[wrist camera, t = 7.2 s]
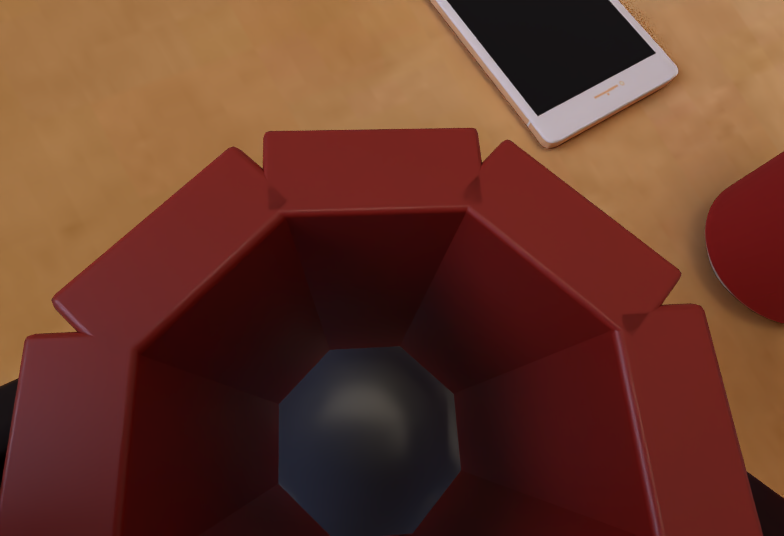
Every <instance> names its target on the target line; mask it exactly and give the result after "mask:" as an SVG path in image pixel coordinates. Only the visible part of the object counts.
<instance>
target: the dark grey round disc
mask: <svg viewBox="0 0 784 536" xmlns="http://www.w3.org/2000/svg"><path fill="white" fill-rule="evenodd" d="M460 471H461V463H460V453H459V443H458V433H457V423H456V412H455V402H454V394H453V393H452V392H451V391H450V390H449V389H448V388H446V387H445V386H444V385H443V384H442V383H441V382H440V381H439V380H437V379H436V378H435V377H434V376H433V375H432V374H431V373H430V372H428V371H427V370H426V369H425V368H424V367H423V366H422V365H421V364H419V363H418V362H417V361H416V360H415V359H414V358H413V357H412V356H410V355H409V354H408V353H407V352H406V351H405V350H404V349H403V348H402V347H400V346H393V347H373V348H354V349H335V350H329V351H328V352H327V353H326V354H325V355H324V356H323V357H322V359H321V360H320V361H319V362H318V363H317V364H316V365H315V366H314V367H313V368H312V369H311V370H310V371H309V372H308V374H307V375H306V376H305V377H304V378H303V379H302V380H301V381H300V382H299V383H298V384H297V385H296V386H295V387H294V389H293V390H292V391H291V392H290V393H289V394H288V395H287V396H286V397H285V398H284V399H283V400H282V401H281V402H280V404H279V468H278V484H279V485H280V486H281V487H282V488H283V489H284V490H285V491H286V492H287V493H288V494H289V495H290V496H291V497H292V498H293V499H294V500H295V501H296V502H297V503H298V504H299V505H300V506H301V507H302V508H303V509H304V510H305V511H306V512H307V513H308V514H309V515H310V516H311V517H312V518H313V519H314V520H315V521H316V522H317V523H318V524H319V525H320V526H321V527H322V528H323V529H324V530H325V531H326V532H327V533H328V534H329V535H330V536H389V535H401V534H413V532H414V531H415V530H416V528H417V527H418V526H419V525H420V523H421V522H422V521H423V519H424V518H425V517H426V515H427V514H428V513H429V512H430V510H431V509H432V508H433V506H434V505H435V504H436V502H437V501H438V500H439V499H440V497H441V496H442V495H443V493H444V492H445V491H446V489H447V488H448V487H449V485H450V484H451V483H452V482H453V480H454V479H455V478H456V476H457V475H458V474H459V472H460Z"/></svg>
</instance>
